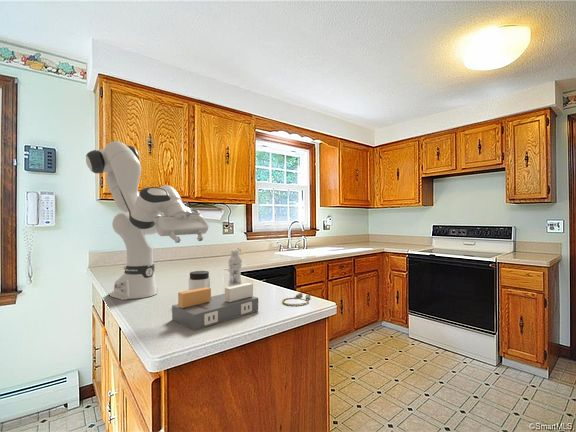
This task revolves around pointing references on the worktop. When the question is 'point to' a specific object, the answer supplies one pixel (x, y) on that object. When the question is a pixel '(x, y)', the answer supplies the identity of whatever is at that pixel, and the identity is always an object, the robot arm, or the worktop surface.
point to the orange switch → (194, 297)
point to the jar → (199, 280)
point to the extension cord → (297, 298)
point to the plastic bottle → (235, 269)
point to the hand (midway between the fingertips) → (190, 240)
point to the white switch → (238, 292)
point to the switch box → (213, 311)
